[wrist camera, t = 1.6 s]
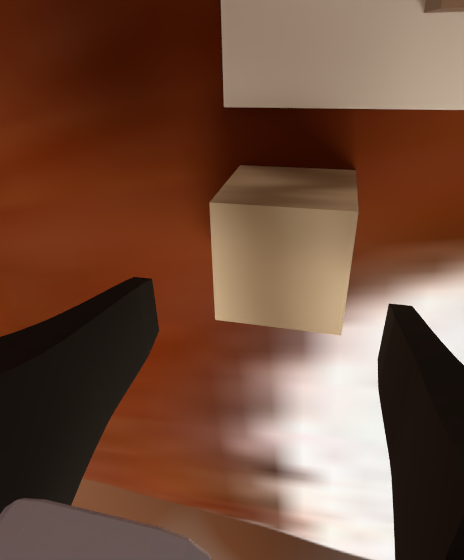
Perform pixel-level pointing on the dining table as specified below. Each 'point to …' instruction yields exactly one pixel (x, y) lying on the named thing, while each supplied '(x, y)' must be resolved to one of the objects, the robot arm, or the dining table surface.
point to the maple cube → (284, 246)
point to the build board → (343, 54)
